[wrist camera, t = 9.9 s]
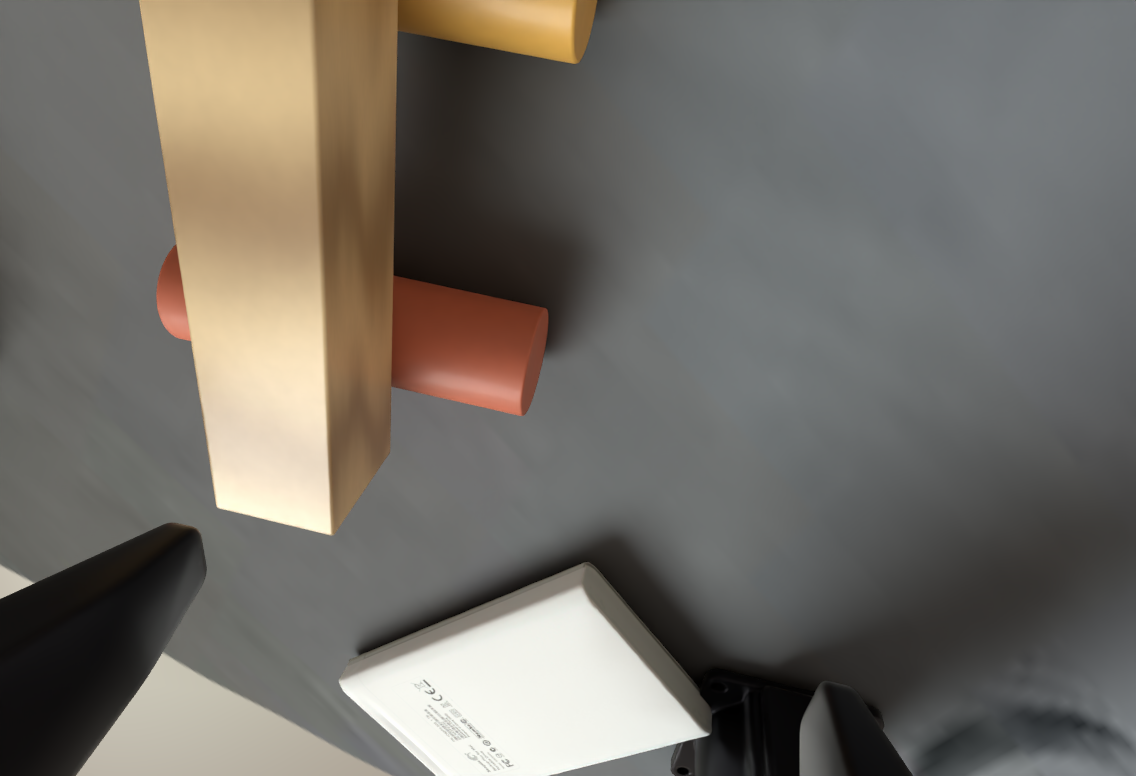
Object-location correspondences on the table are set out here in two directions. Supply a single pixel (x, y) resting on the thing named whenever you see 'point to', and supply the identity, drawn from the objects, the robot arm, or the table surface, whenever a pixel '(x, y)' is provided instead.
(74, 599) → the robot arm
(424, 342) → the terracotta rod
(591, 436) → the table surface
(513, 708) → the hard drive
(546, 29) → the ochre rod
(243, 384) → the light wooden bar
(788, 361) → the table surface
